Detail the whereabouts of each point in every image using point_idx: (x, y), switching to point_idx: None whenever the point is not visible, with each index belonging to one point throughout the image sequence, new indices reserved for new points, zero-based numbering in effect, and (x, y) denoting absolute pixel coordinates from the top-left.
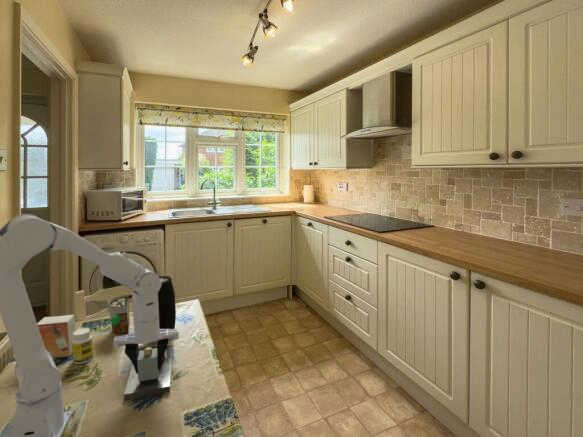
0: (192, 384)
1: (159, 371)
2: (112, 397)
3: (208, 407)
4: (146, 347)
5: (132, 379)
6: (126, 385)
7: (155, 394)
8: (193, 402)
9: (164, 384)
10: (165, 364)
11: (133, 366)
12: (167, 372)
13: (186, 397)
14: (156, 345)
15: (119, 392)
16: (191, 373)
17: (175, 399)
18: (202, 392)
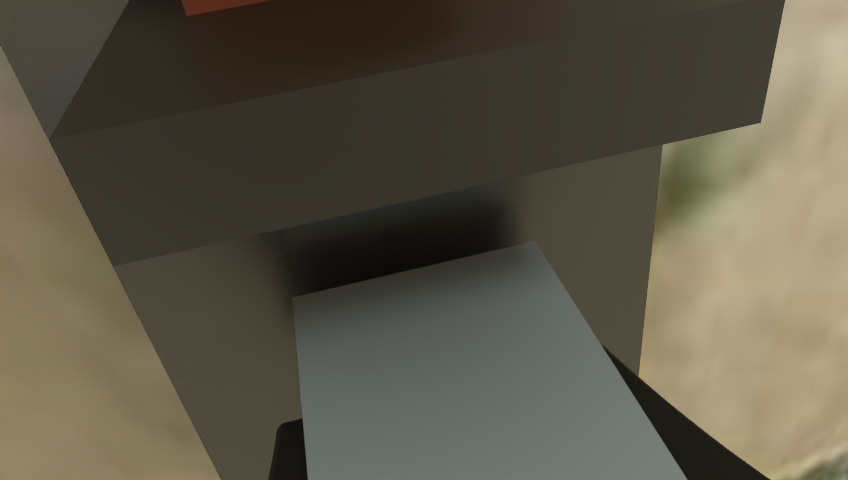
0: (787, 302)
1: (519, 229)
2: (106, 458)
3: (816, 477)
4: (326, 214)
5: (222, 361)
6: (204, 442)
7: None
8: (748, 454)
9: None
10: None
11: (52, 80)
12: (614, 250)
13: (715, 422)
14: (592, 130)
15: (135, 404)
16: (822, 148)
17: None
18: (827, 378)
